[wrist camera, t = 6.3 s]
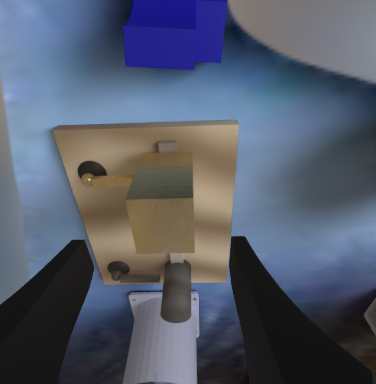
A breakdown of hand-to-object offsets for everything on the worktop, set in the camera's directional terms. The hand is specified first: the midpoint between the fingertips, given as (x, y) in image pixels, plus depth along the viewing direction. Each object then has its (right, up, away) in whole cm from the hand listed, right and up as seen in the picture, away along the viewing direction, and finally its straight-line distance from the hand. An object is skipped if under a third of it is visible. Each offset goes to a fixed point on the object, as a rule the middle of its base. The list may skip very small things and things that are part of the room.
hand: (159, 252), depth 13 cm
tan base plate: (-1, +1, +11) cm, 11 cm away
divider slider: (-2, +4, +7) cm, 8 cm away
